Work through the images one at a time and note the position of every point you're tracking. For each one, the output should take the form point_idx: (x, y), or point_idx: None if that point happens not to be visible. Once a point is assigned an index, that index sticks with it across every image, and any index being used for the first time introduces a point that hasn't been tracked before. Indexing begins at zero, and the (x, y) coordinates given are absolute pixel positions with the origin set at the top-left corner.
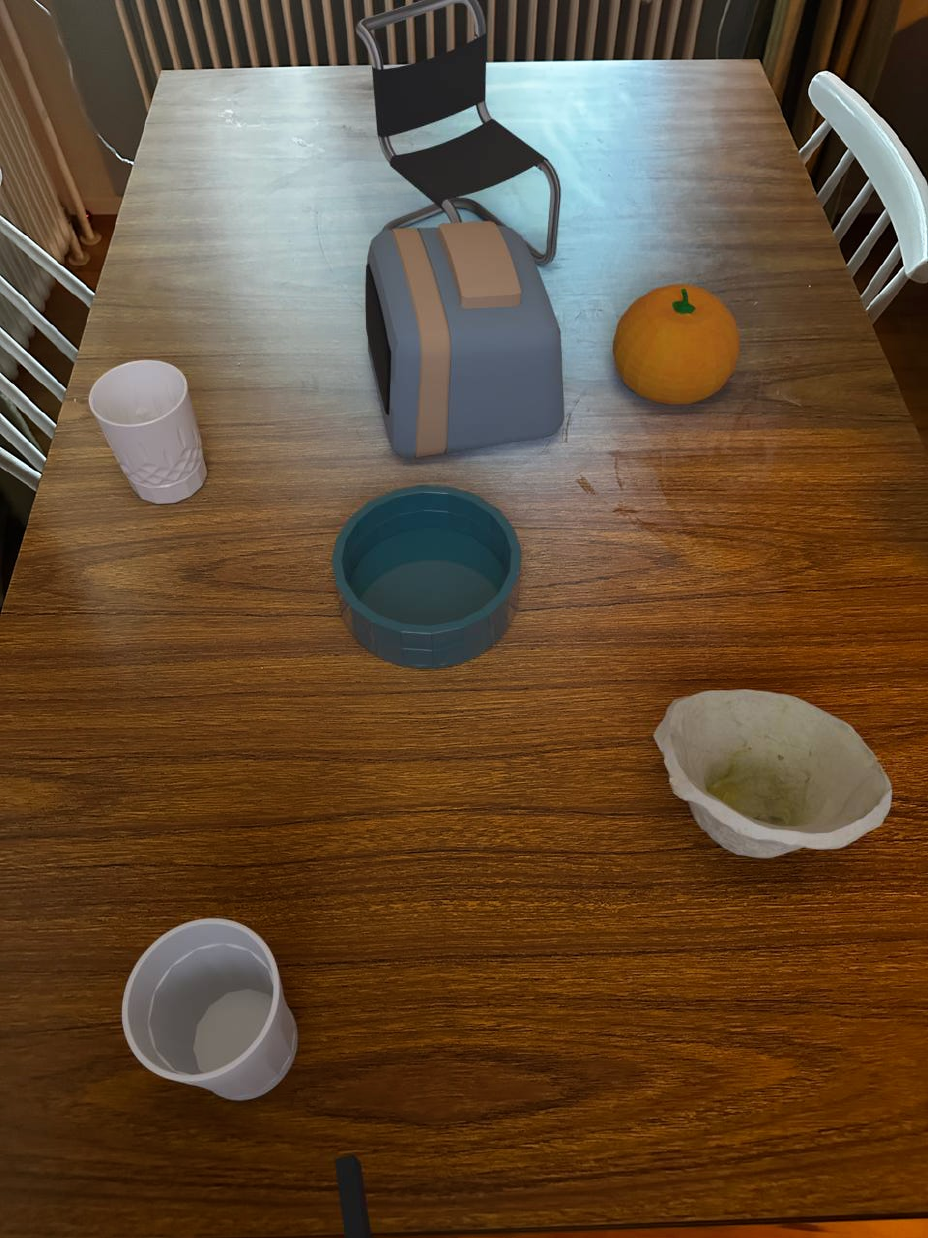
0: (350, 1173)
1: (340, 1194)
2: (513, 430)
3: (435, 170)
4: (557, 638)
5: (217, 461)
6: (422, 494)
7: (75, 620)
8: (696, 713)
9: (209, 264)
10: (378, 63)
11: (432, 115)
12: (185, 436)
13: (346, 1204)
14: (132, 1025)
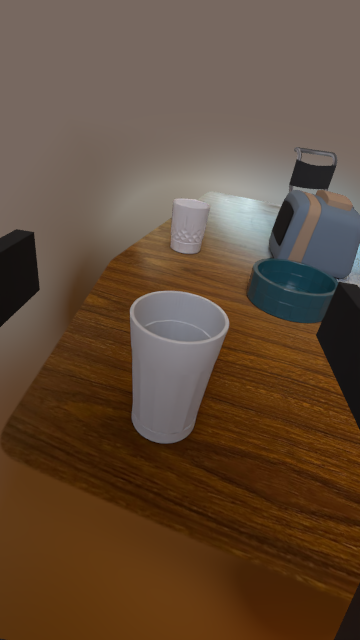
0: (356, 290)
1: (349, 295)
2: (329, 266)
3: None
4: None
5: (204, 250)
6: (293, 263)
7: (135, 266)
8: None
9: (212, 218)
10: (299, 158)
11: (309, 185)
12: (202, 224)
13: (357, 300)
14: (134, 314)
